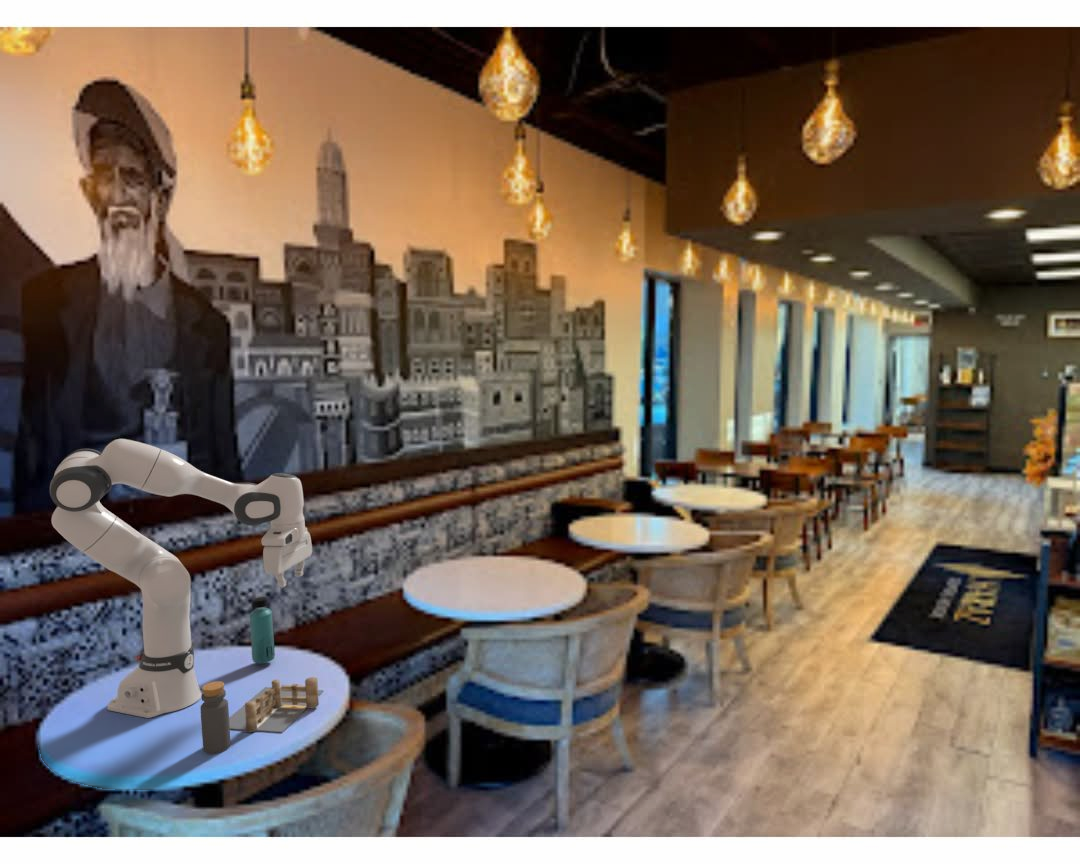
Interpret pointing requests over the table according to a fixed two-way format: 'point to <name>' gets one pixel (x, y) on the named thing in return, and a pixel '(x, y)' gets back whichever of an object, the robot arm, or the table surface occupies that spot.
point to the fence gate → (309, 688)
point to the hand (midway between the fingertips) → (290, 581)
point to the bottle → (215, 718)
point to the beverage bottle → (261, 632)
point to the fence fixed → (258, 705)
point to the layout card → (271, 714)
